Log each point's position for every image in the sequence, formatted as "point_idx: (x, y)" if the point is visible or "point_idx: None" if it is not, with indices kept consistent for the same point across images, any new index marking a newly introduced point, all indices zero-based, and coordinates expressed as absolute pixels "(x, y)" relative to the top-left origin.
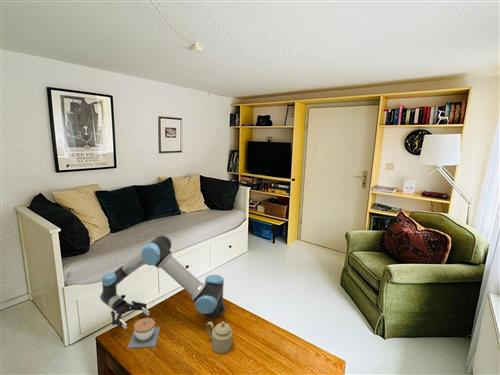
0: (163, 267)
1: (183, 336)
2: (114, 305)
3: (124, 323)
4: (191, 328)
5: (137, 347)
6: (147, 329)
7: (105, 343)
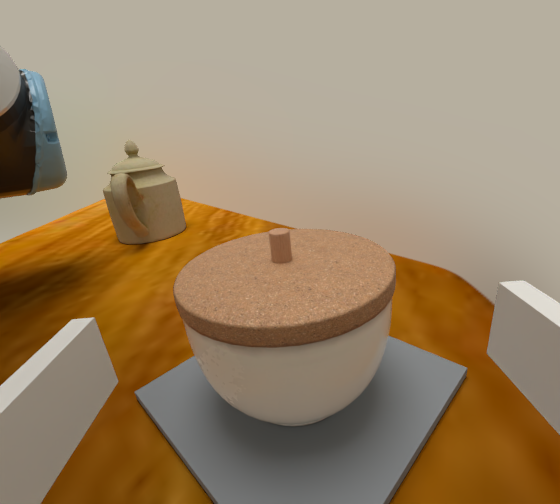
0: None
1: (160, 286)
2: None
3: (549, 302)
4: (90, 298)
5: (387, 340)
6: (302, 229)
7: None
